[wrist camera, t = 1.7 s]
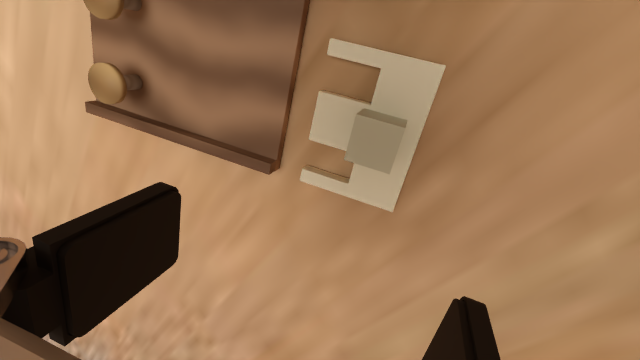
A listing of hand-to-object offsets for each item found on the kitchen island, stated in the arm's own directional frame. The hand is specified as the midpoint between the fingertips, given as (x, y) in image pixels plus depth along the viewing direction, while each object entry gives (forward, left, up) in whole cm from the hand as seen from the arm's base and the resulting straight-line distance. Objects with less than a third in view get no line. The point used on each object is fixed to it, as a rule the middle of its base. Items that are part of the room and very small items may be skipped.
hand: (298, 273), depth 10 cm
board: (-2, -22, -22) cm, 31 cm away
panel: (0, -2, -22) cm, 22 cm away
